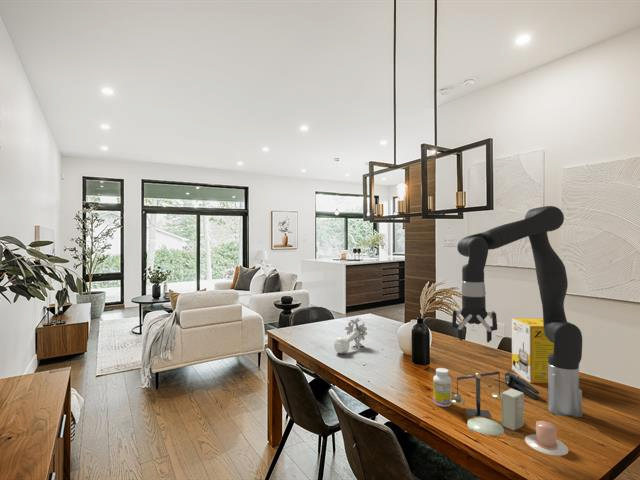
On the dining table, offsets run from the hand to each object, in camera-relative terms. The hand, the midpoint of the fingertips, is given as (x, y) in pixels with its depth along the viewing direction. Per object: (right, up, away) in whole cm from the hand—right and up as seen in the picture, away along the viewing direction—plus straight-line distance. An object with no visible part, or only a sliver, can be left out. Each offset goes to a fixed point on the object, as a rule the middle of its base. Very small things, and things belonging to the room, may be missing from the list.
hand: (474, 340), depth 122 cm
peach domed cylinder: (+14, -26, -16) cm, 34 cm away
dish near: (+14, -28, -16) cm, 35 cm away
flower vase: (-36, -28, +81) cm, 93 cm away
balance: (+3, -28, +3) cm, 28 cm away
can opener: (+30, -28, +24) cm, 48 cm away
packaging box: (+47, -28, +40) cm, 68 cm away
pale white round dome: (+1, -28, -6) cm, 28 cm away
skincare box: (+10, -28, -5) cm, 30 cm away
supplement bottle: (-7, -28, +13) cm, 32 cm away
